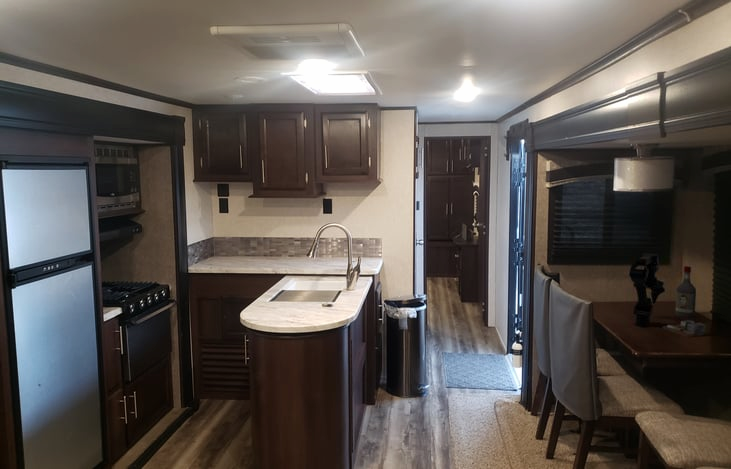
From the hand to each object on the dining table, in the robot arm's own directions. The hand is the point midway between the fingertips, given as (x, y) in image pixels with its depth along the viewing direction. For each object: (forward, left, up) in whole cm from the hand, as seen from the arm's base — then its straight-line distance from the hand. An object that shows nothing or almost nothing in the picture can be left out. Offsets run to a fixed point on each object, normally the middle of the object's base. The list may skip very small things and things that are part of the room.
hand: (648, 301), depth 307 cm
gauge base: (+3, -23, -12) cm, 26 cm away
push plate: (+2, -23, -10) cm, 25 cm away
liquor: (+33, +4, -12) cm, 36 cm away
